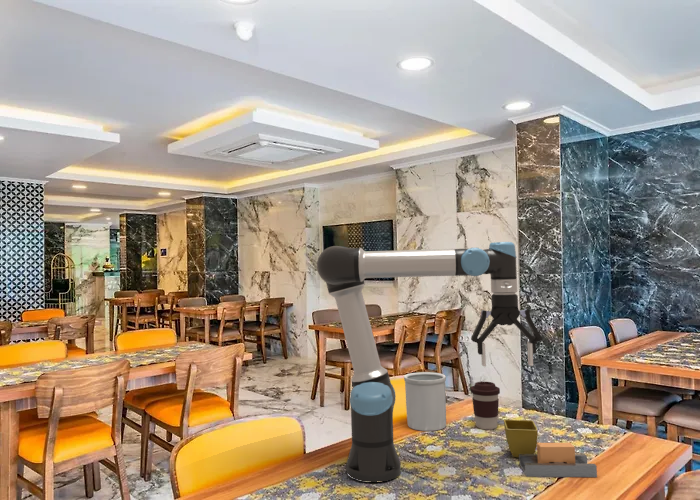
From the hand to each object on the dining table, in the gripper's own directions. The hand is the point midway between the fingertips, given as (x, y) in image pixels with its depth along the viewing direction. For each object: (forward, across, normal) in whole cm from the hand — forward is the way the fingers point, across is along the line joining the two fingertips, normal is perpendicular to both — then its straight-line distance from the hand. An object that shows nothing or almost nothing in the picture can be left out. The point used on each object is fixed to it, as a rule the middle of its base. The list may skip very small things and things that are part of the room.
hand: (507, 365), depth 147 cm
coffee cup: (+27, -2, +27) cm, 38 cm away
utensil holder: (+27, -23, +29) cm, 46 cm away
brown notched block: (+27, +10, -10) cm, 30 cm away
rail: (+27, +10, -10) cm, 30 cm away
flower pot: (+27, +3, +1) cm, 27 cm away
